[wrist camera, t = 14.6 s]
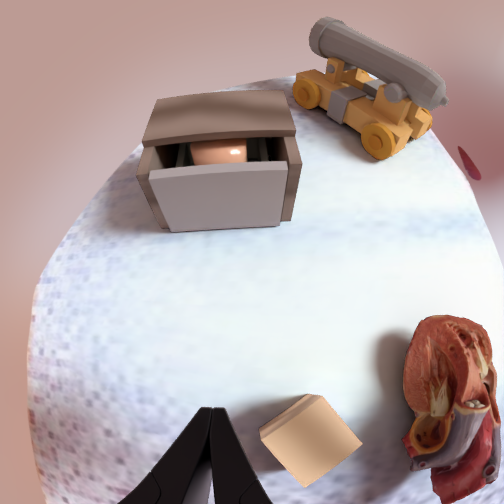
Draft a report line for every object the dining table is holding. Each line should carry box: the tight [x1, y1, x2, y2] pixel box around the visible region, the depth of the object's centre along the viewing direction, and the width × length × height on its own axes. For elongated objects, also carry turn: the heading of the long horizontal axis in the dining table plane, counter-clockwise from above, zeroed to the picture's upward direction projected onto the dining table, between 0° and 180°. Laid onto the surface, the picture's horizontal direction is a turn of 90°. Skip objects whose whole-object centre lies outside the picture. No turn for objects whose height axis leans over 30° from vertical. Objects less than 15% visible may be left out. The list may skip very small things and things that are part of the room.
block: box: [259, 394, 362, 488], centre depth 16 cm, size 5×5×5 cm
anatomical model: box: [402, 315, 501, 504], centre depth 14 cm, size 11×13×15 cm
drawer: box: [148, 137, 288, 232], centre depth 26 cm, size 10×11×8 cm
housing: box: [136, 90, 302, 228], centre depth 26 cm, size 11×14×9 cm
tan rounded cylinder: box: [190, 138, 247, 166], centre depth 26 cm, size 5×5×6 cm
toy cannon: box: [293, 17, 449, 160], centre depth 31 cm, size 16×22×15 cm
